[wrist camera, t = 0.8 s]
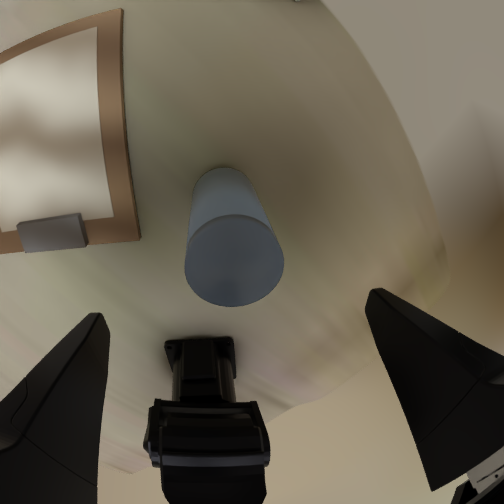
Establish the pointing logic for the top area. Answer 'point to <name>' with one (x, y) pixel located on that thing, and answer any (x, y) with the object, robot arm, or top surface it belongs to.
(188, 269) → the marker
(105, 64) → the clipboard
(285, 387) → the top surface
